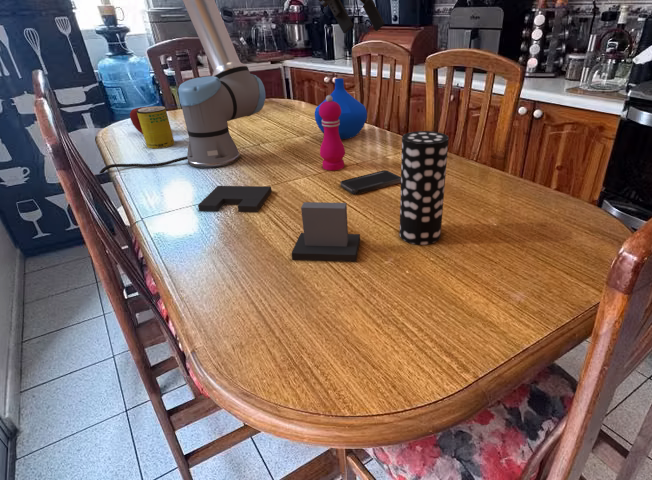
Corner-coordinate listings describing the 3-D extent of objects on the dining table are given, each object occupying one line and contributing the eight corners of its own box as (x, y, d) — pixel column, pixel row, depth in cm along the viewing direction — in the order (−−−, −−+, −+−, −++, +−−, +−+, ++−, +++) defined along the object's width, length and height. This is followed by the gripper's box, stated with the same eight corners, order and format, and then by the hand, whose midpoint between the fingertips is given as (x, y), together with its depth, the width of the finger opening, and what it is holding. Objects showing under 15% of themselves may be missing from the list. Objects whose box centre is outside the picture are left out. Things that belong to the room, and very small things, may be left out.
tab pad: (292, 259, 78) (286, 214, 73) (305, 230, 88) (300, 188, 83) (355, 261, 77) (354, 215, 72) (361, 232, 87) (360, 189, 82)
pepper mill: (342, 171, 118) (338, 98, 107) (317, 170, 119) (311, 97, 109) (348, 163, 124) (345, 92, 113) (325, 162, 125) (319, 92, 115)
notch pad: (199, 211, 97) (197, 205, 96) (218, 191, 107) (217, 185, 107) (257, 212, 96) (256, 206, 95) (271, 191, 106) (271, 186, 105)
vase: (376, 132, 152) (376, 76, 142) (348, 146, 139) (346, 85, 129) (336, 126, 161) (333, 73, 151) (305, 138, 147) (300, 81, 138)
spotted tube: (396, 226, 88) (398, 132, 78) (435, 224, 89) (442, 130, 79) (403, 246, 81) (406, 144, 71) (445, 243, 82) (454, 142, 71)
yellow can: (179, 141, 148) (171, 106, 142) (165, 149, 140) (155, 112, 134) (156, 140, 149) (147, 106, 143) (141, 148, 142) (130, 112, 136)
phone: (338, 181, 108) (385, 169, 115) (338, 185, 108) (385, 173, 115) (354, 191, 102) (403, 178, 109) (354, 195, 103) (403, 182, 110)
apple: (135, 132, 160) (127, 105, 155) (162, 129, 163) (155, 102, 158) (135, 138, 152) (126, 110, 147) (163, 134, 156) (156, 107, 151)
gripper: (291, -84, 81) (344, 18, 84) (360, -66, 100) (402, 17, 102) (270, -54, 86) (322, 41, 89) (340, -43, 105) (381, 36, 107)
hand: (365, 28), depth 96 cm, fingers open, 13 cm apart
